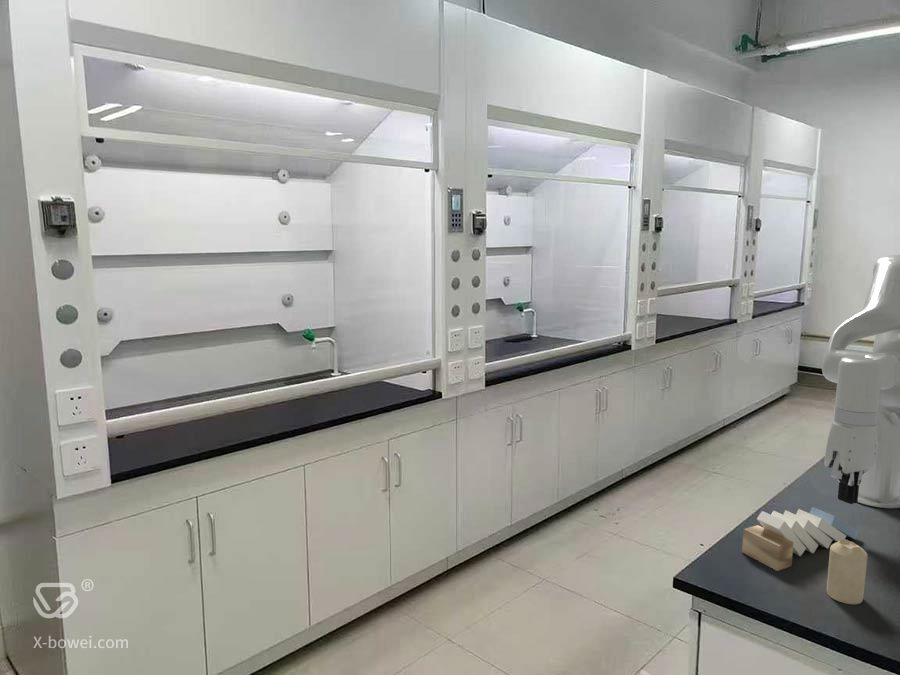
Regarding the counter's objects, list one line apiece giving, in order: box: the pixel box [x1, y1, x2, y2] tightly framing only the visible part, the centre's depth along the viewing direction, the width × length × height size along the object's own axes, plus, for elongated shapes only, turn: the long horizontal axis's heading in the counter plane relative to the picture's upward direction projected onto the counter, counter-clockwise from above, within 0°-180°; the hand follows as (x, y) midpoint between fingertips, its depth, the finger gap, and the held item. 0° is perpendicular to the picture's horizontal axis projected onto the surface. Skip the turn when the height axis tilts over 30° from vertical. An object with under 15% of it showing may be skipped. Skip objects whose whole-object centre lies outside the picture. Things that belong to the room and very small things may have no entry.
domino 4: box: [795, 508, 847, 543], centre depth 130 cm, size 2×5×10 cm
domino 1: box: [756, 510, 806, 557], centre depth 125 cm, size 2×5×10 cm
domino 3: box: [783, 509, 833, 550], centre depth 129 cm, size 2×5×10 cm
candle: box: [826, 538, 869, 605], centre depth 111 cm, size 6×6×10 cm
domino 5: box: [808, 506, 861, 541], centre depth 132 cm, size 2×5×10 cm
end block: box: [741, 524, 794, 571], centre depth 124 cm, size 4×8×5 cm, turn 25°
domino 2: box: [770, 510, 819, 554], centre depth 127 cm, size 2×5×10 cm
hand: (847, 501), depth 133 cm, fingers closed
